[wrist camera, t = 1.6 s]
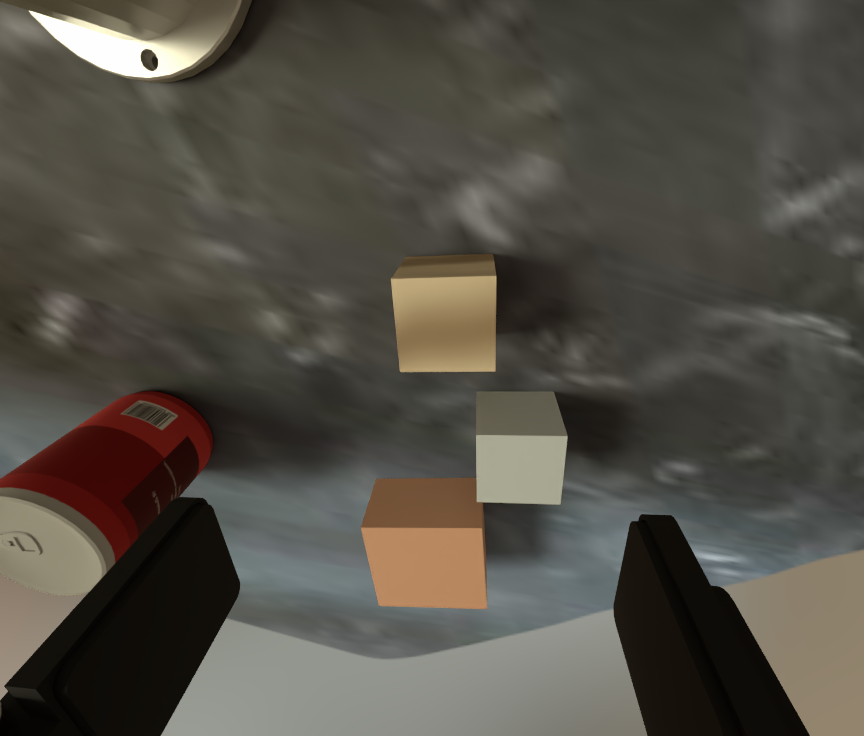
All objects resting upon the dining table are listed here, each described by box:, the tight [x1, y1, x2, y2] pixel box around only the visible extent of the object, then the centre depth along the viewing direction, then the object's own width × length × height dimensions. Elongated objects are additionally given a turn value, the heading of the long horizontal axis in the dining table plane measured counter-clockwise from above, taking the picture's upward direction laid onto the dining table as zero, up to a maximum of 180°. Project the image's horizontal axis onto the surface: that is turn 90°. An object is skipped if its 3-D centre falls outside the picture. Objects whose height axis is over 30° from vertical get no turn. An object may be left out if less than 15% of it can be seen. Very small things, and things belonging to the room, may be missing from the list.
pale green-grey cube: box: [476, 391, 568, 505], centre depth 27 cm, size 5×5×5 cm
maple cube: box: [391, 254, 496, 372], centre depth 24 cm, size 5×5×5 cm
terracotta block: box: [361, 478, 487, 609], centre depth 32 cm, size 8×8×5 cm
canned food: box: [0, 391, 213, 596], centre depth 28 cm, size 8×8×11 cm
